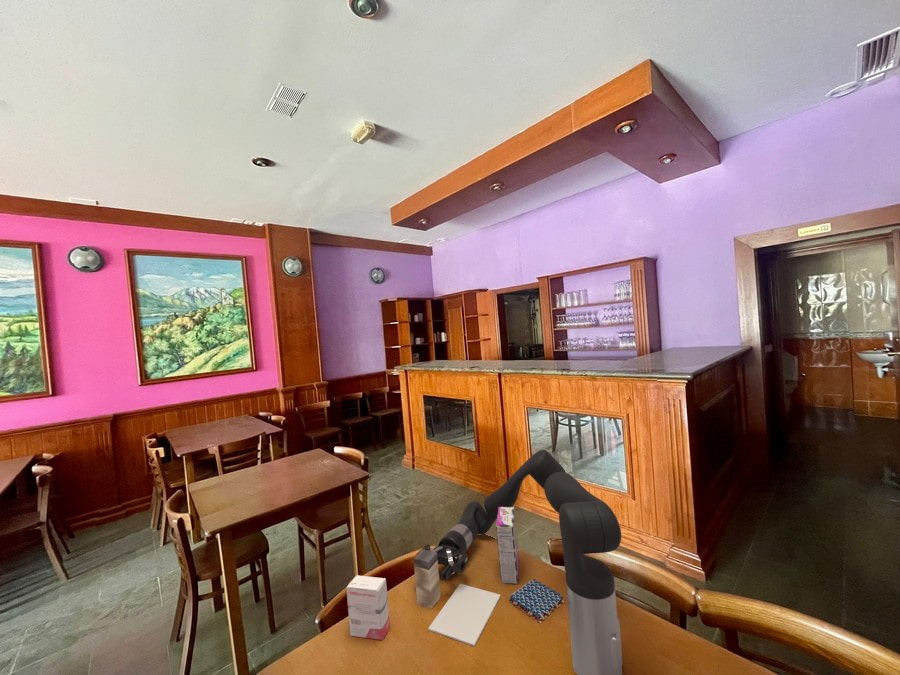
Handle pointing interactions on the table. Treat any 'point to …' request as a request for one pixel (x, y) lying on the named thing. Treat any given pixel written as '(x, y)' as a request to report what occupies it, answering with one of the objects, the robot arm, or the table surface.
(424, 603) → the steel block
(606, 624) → the robot arm
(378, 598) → the ink box
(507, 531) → the candy bar box
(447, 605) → the white rectangular board
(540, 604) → the woven mat
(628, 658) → the table surface
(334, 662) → the table surface
